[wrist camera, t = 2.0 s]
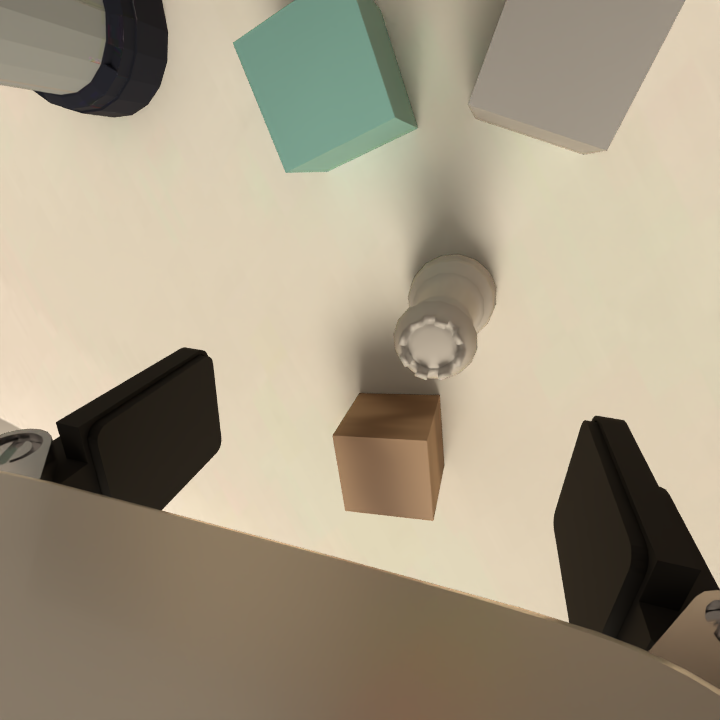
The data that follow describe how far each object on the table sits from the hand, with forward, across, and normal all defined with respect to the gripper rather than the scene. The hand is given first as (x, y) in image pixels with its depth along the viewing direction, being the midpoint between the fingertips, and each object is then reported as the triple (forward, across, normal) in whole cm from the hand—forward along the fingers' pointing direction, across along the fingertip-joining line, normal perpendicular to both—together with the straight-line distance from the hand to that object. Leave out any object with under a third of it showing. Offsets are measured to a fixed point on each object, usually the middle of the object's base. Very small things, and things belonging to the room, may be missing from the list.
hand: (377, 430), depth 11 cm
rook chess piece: (+14, -1, 0) cm, 14 cm away
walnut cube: (+14, +1, +9) cm, 17 cm away
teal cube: (+14, +5, -9) cm, 18 cm away
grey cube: (+14, -4, -10) cm, 18 cm away
